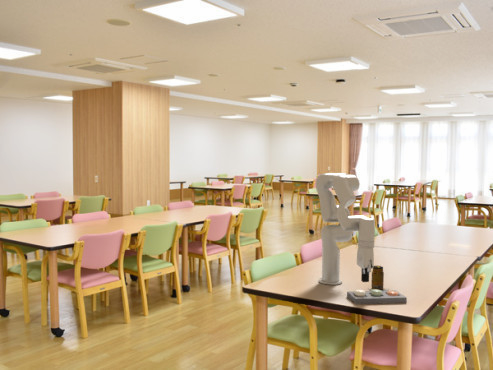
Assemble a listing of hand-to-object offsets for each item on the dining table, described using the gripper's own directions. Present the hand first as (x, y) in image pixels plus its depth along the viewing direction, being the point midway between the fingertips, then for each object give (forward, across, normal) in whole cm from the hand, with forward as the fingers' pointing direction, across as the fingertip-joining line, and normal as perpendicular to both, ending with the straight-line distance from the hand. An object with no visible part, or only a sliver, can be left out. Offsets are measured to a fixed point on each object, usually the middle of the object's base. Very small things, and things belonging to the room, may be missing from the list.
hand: (365, 281), depth 220 cm
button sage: (+7, 0, +6) cm, 9 cm away
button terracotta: (+8, +1, +14) cm, 16 cm away
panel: (+9, 0, +6) cm, 11 cm away
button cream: (+7, 0, -2) cm, 7 cm away
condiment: (+9, -16, +15) cm, 24 cm away
